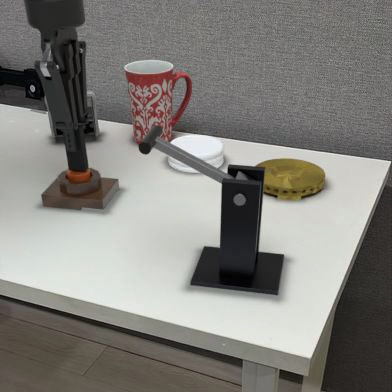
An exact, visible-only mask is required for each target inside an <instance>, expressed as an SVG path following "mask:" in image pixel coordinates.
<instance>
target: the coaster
mask: <svg viewBox="0 0 392 392" xmlns="http://www.w3.org/2000/svg"><path fill="white" fill-rule="evenodd" d="M169 143H171V144H173V145H175V146H177V147H179V148H180V149H182V150H184V151H186V152H188V153H190V154H192V155H194V156H195V157H197V158H199V159H201V160H203V161H205V162H207V163H208V164H210V165H212V166H214V167H216V168H218V169H219V168H221V167H222V166H223V164H224V161H225V158H224V156H225V153H224V150H225V145H224V143H223V142H222V141H221V140H220V139H219V138H217V137H214V136H211V135H204V134H188V135H182V136H178V137H175V138H174V139H172V140H171V142H169ZM167 162H168V164H169V166H170V167H171V168H173V169H175V170H176V171H178V172H183V173H188V174H201V173H200V172H198V171H197V170H195V169H193V168H191V167H189V166H187V165H185V164H183V163H182V162H180V161H178V160H176V159H174V158H172V157H170V156H168V158H167Z"/></svg>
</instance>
